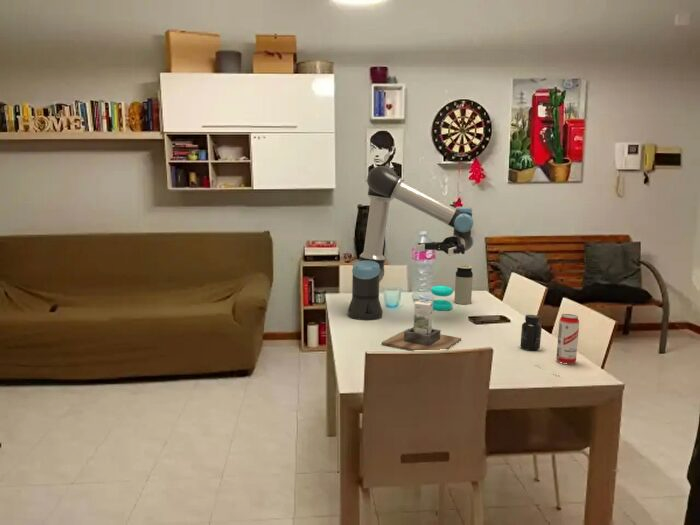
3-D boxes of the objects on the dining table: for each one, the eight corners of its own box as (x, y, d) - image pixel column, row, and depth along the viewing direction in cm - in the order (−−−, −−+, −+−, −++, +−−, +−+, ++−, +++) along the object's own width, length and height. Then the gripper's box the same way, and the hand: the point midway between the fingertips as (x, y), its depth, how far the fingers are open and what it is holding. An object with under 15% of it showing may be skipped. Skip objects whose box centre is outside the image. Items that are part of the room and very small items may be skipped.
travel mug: (468, 305, 265) (470, 268, 262) (452, 303, 269) (454, 266, 266) (472, 302, 272) (474, 265, 270) (456, 300, 276) (458, 264, 273)
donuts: (457, 288, 256) (442, 290, 250) (456, 309, 258) (441, 312, 252) (441, 284, 264) (426, 286, 258) (440, 305, 265) (425, 307, 259)
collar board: (381, 344, 203) (381, 332, 202) (408, 330, 221) (408, 319, 221) (437, 356, 191) (438, 343, 191) (461, 340, 210) (461, 329, 209)
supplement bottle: (541, 351, 198) (543, 319, 196) (521, 350, 200) (523, 317, 198) (538, 346, 205) (541, 314, 203) (519, 344, 206) (521, 313, 204)
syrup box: (431, 338, 208) (433, 300, 206) (428, 343, 202) (429, 304, 200) (416, 337, 210) (418, 299, 208) (412, 341, 204) (414, 302, 202)
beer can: (552, 358, 191) (556, 313, 188) (570, 358, 192) (574, 313, 189) (561, 365, 185) (565, 318, 182) (579, 364, 185) (583, 318, 183)
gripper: (481, 256, 230) (462, 263, 213) (426, 251, 243) (404, 256, 226) (482, 238, 229) (463, 243, 211) (426, 234, 242) (404, 238, 224)
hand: (432, 250), depth 218 cm, fingers open, 13 cm apart
